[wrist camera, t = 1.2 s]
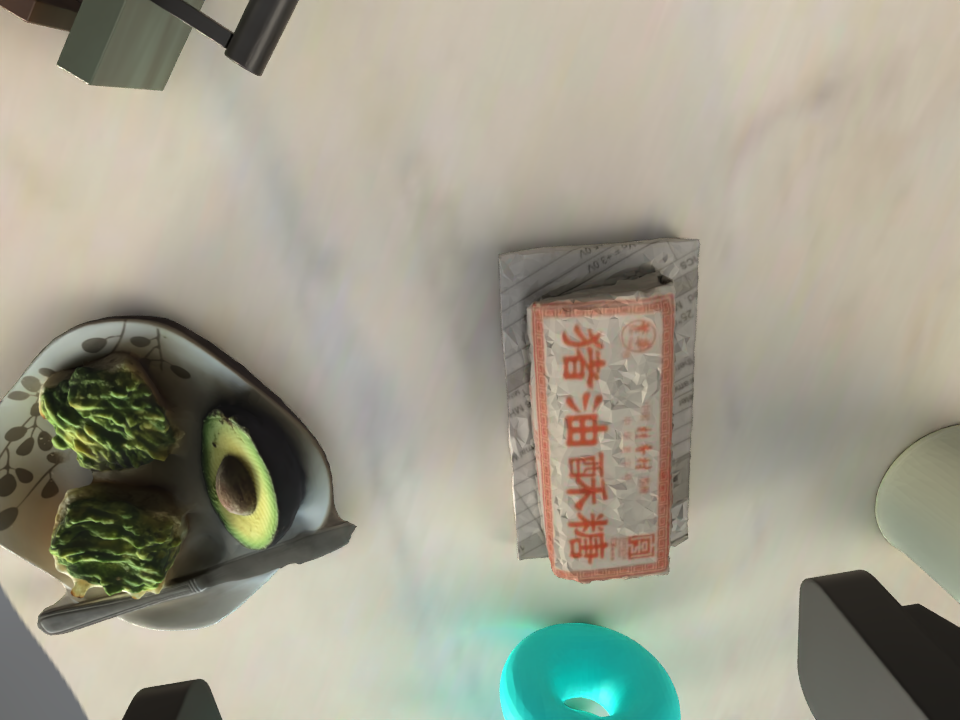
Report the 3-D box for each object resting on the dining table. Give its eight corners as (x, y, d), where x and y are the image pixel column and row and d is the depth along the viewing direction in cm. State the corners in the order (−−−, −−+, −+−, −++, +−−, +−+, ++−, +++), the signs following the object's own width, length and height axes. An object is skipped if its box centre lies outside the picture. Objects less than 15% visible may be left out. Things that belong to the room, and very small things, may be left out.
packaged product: (711, 584, 36) (526, 604, 36) (679, 531, 40) (515, 548, 40) (729, 250, 30) (504, 270, 29) (689, 231, 34) (494, 249, 34)
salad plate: (174, 682, 42) (144, 748, 37) (-98, 509, 36) (-170, 563, 32) (394, 486, 38) (390, 534, 34) (128, 261, 33) (82, 284, 28)
